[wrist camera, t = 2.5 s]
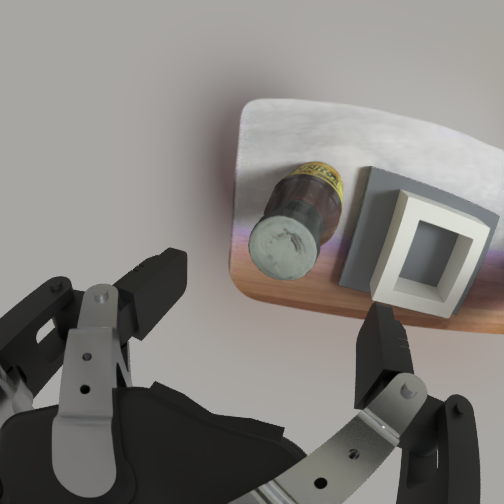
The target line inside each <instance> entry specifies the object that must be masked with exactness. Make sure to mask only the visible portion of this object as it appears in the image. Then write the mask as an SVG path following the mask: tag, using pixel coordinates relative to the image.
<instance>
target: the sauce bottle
mask: <svg viewBox="0 0 504 504" xmlns="http://www.w3.org/2000/svg"><path fill="white" fill-rule="evenodd" d="M342 201H343V182H342V179H341V177H340V175H339V173H338V172H337V171H336V170H335V169H334V168H333V167H332V166H330V165H328V164H326V163H323V162H308V163H305V164H303V165H302V166H300V167H299V168H297V169H296V170H295V171H293V172H292V173H290V174H289V175H288V176H286V177H285V178H284V179H282V180H281V181H280V182H279V183H278V184H277V185H276V186H275V188H274V190H273V193H272V195H271V197H270V199H269V202H268V204H267V206H266V208H265V211H264V216H263V217H262V218H261V219H260V220H259V222H258V223H257V224H256V225H255V227H254V228H253V230H252V232H251V234H250V238H249V243H248V247H249V253H250V256H251V258H252V260H253V262H254V264H255V265H256V266H257V267H258V268H259V270H260V271H262V272H263V273H264V274H266V275H268V276H269V277H272V278H274V279H277V280H295V279H298V278H301V277H303V276H304V275H305V274H306V273H308V272H309V271H310V270H311V268H312V267H313V266H314V264H315V262H316V260H317V258H318V256H319V253H320V246H322V245H323V244H324V243H326V242H327V241H328V240H329V239H330V238H331V237H332V235H333V234H334V232H335V230H336V229H337V226H338V223H339V220H340V216H341V212H342Z"/></svg>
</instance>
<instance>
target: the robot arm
mask: <svg viewBox="0 0 504 504" xmlns="http://www.w3.org/2000/svg"><path fill="white" fill-rule="evenodd" d="M186 285H187V253H186V252H184V251H181V250H178V249H174V248H168V249H166V250H165V251H164V252H162V253H161V254H160V255H155V256H153V257H150V258H147V259H146V260H144V261H143V262H142V263H141V264H139V266H136V267H135V268H134V269H133V271H132V270H131V271H130V272H128V273H127V274H126V275H125V276H123V277H122V278H121V279H119V280H118V281H117V282H116V283H114V284H113V285H109V284H98V285H95V286H92V287H90V288H89V289H88V290H87V291H86V292H84V291H78V290H73V288H72V284H71V281H70V280H69V279H68V278H67V277H63V276H59V277H54V278H51V279H49V280H48V281H46V282H45V283H43V284H42V285H41V286H40V287H38V288H37V289H36V290H34V291H33V292H32V293H30V294H29V295H28V296H27V297H25V298H24V299H23V300H22V301H21V302H19V303H18V304H17V305H16V306H14V307H13V308H12V309H11V310H10V311H8V312H7V313H6V314H5V315H4V316H3V317H1V318H0V504H342V503H343V502H344V501H345V500H346V499H347V498H349V497H350V496H351V495H352V494H353V493H354V492H355V491H356V490H357V489H358V488H359V487H360V486H361V485H362V484H363V483H364V482H365V481H366V480H367V479H368V478H369V477H370V476H371V475H372V474H373V473H374V472H375V470H376V469H377V468H378V467H379V466H380V465H381V464H382V463H383V462H384V460H385V459H386V458H387V457H388V456H389V454H390V453H391V452H392V451H393V450H394V448H395V447H396V446H397V447H399V448H402V458H401V469H400V479H399V487H398V494H397V501H396V504H480V459H479V447H478V438H477V430H476V423H475V417H474V411H473V407H472V405H471V403H470V402H469V401H468V400H467V399H466V398H465V397H463V396H461V395H458V394H455V395H451V396H450V397H449V398H448V399H447V400H446V401H445V402H443V401H441V400H439V399H436V398H434V397H431V396H429V395H428V394H427V389H426V386H425V384H424V382H423V381H422V380H421V379H420V378H419V377H417V376H416V375H414V370H413V364H412V359H411V354H410V349H409V344H408V341H407V335H406V330H405V329H404V327H403V326H402V324H401V323H400V321H397V320H394V316H393V311H392V307H391V306H387V305H383V304H379V303H373V304H372V306H371V308H370V310H369V312H368V314H367V317H366V319H365V321H364V323H363V325H362V327H361V329H360V331H359V334H358V337H357V342H356V382H355V403H354V409H360V410H362V411H360V412H359V413H358V414H357V415H356V416H355V417H354V418H353V419H352V420H351V421H350V422H348V424H346V425H345V426H344V427H343V428H342V429H340V431H338V432H337V433H336V434H335V435H333V436H332V437H331V438H330V439H329V440H327V442H325V443H324V444H322V445H321V446H320V447H319V448H317V449H316V450H315V451H313V452H312V453H311V454H310V455H308V456H307V454H306V453H305V452H304V451H303V450H302V449H301V448H300V447H298V446H297V445H296V444H295V443H293V442H292V441H290V440H289V439H287V438H285V437H283V432H284V429H285V428H284V427H280V426H277V425H273V424H269V423H265V422H262V421H258V420H255V419H252V418H241V417H232V416H224V415H217V414H213V413H211V412H209V411H208V410H206V409H204V408H203V407H201V406H200V405H199V404H197V403H196V402H194V401H193V400H191V399H190V398H189V397H187V396H186V395H185V394H183V393H180V392H178V391H176V390H174V389H171V388H169V387H167V386H165V385H163V384H160V383H158V382H156V381H155V382H154V383H153V385H152V386H151V387H150V388H144V387H133V386H132V381H131V370H130V351H129V341H128V340H129V339H130V338H131V337H132V336H133V337H135V338H137V339H139V340H141V341H142V340H143V339H144V338H145V337H146V335H147V334H148V333H149V332H150V331H151V330H152V329H153V328H154V326H155V325H156V324H157V323H158V322H159V321H160V320H161V319H162V317H163V316H164V315H165V314H166V313H167V312H168V311H169V309H170V308H171V307H172V306H173V305H174V304H175V303H176V302H177V301H178V300H179V298H180V297H181V296H182V295H183V294H184V292H185V289H186ZM51 318H52V320H53V323H54V325H55V328H54V329H53V330H52V331H51V332H50V333H49V334H48V335H47V336H46V337H45V338H43V340H41V341H40V342H39V343H37V341H36V335H37V332H38V330H39V329H40V328H41V327H42V326H43V325H45V324H46V323H47V322H48V321H49V320H50V319H51ZM62 365H63V369H62V377H61V386H60V397H59V404H58V405H53V406H49V407H44V408H39V409H34V408H33V407H32V404H33V399H34V397H35V396H36V395H37V394H38V393H39V391H40V390H41V389H42V388H43V387H44V386H45V384H46V383H47V382H48V381H49V380H50V379H51V377H52V376H53V375H54V374H55V373H56V372H57V371H58V369H59V368H60V367H61V366H62ZM437 450H438V468H437Z"/></svg>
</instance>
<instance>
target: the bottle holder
mask: <svg viewBox="0 0 504 504" xmlns="http://www.w3.org/2000/svg"><path fill="white" fill-rule="evenodd" d="M499 217H500V216H498V215H497V214H495V213H494V212H492V211H489V210H487V209H485V208H483V207H481V206H479V205H477V204H474V203H472V202H470V201H468V200H465V199H463V198H461V197H458V196H456V195H453V194H451V193H448V192H446V191H443V190H441V189H438V188H436V187H433V186H430V185H428V184H425V183H422V182H419V181H416V180H413V179H411V178H408V177H405V176H402V175H399V174H395V173H392V172H389V171H386V170H383V169H379V168H376V167H372V166H370V170H369V175H368V179H367V183H366V188H365V192H364V196H363V200H362V203H361V207H360V211H359V215H358V218H357V222H356V226H355V229H354V233H353V236H352V240H351V243H350V246H349V249H348V253H347V256H346V259H345V262H344V265H343V268H342V271H341V275H340V278H339V286H343V287H347V288H351V289H355V290H358V291H362V292H366V293H370V294H371V297H372V300H374V301H378V302H382V303H386V304H390V305H394V306H398V307H402V308H406V309H411V310H415V311H419V312H423V313H427V314H432V315H436V316H440V317H444V318H449V317H450V316H451V314H455V315H456V314H457V312H458V311H459V309H460V307H461V305H462V303H463V302H464V300H465V298H466V296H467V294H468V292H469V290H470V288H471V286H472V284H473V282H474V280H475V278H476V276H477V273H478V271H479V269H480V267H481V265H482V262H483V260H484V258H485V255H486V253H487V250H488V248H489V245H490V243H491V240H492V237H493V235H494V232H495V229H496V226H497V223H498V220H499Z"/></svg>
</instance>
